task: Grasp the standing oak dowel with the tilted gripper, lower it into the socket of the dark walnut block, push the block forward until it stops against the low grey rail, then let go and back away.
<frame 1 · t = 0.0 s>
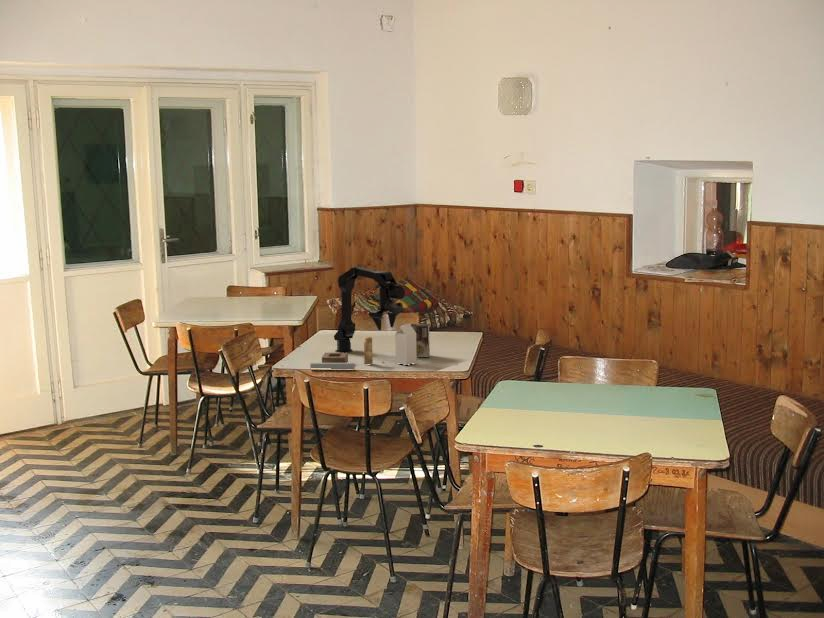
hand: (385, 328, 466), 15 cm above the table, tool pointing down, fingers open, 9 cm apart
coffee box: (420, 357, 471), on the table
milk carton: (406, 364, 456), on the table
stop rail: (332, 370, 445), on the table
socket block: (335, 360, 455), point 3 cm above the table, slide at 0.0 cm
dowel: (368, 364, 456), on the table
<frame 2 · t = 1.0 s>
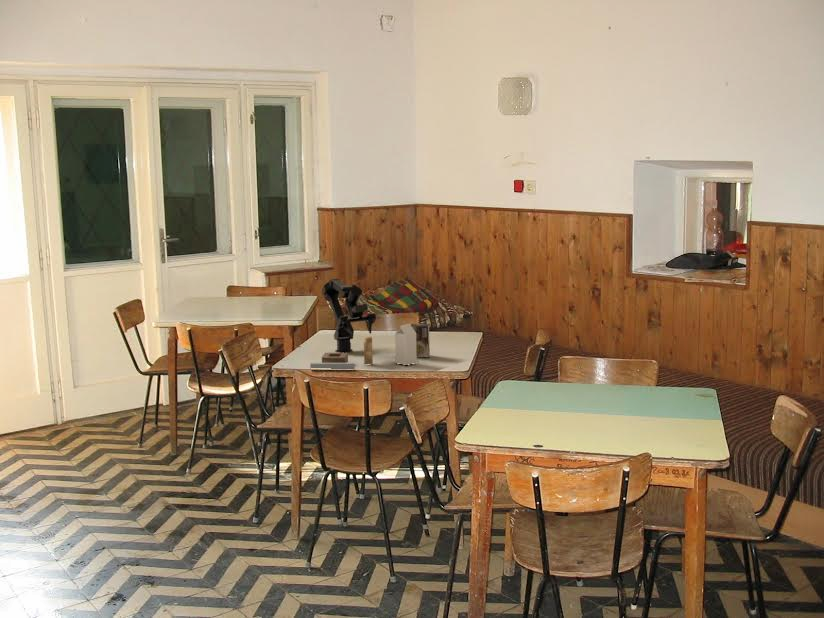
hand: (361, 334, 461), 13 cm above the table, tool tilted 45°, fingers open, 9 cm apart
nothing on the table moved.
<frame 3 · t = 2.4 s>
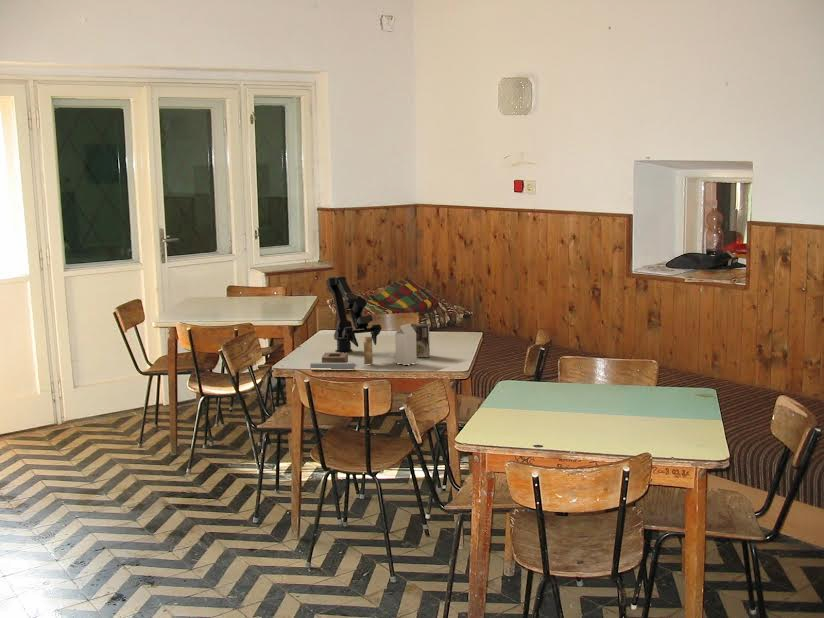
hand: (366, 345, 456), 9 cm above the table, tool tilted 45°, fingers open, 9 cm apart
nothing on the table moved.
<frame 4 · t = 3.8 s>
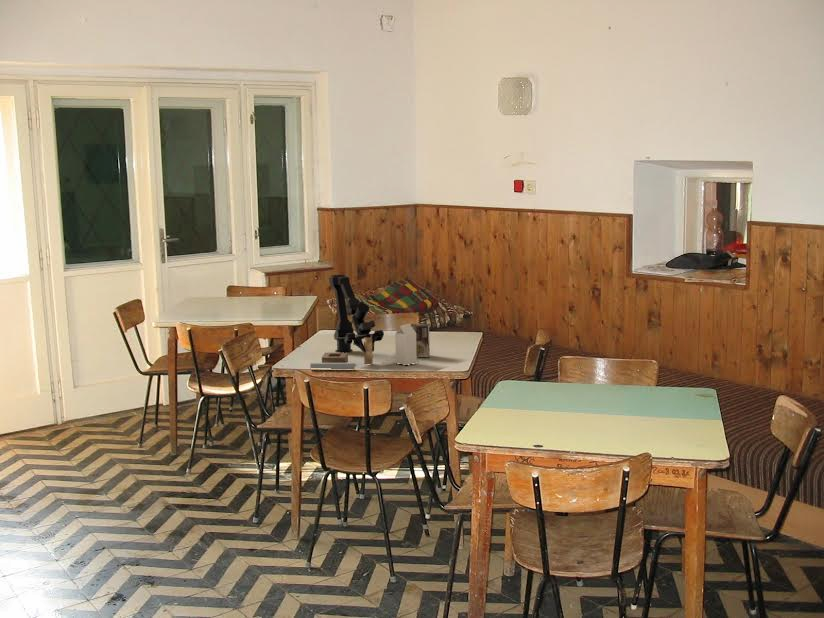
hand: (369, 351, 454), 7 cm above the table, tool tilted 45°, fingers closed on dowel, 4 cm apart
dowel: (368, 364, 456), on the table, touching gripper
everything else where it was.
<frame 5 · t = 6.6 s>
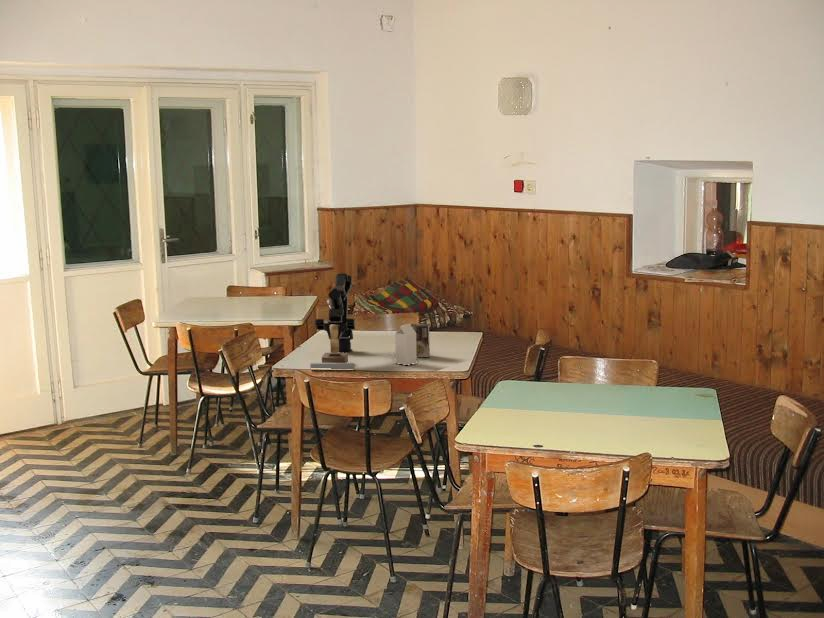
hand: (334, 338, 451), 13 cm above the table, tool tilted 45°, fingers closed on dowel, 4 cm apart
dowel: (334, 351, 454), point 7 cm above the table, touching gripper
everything else where it was.
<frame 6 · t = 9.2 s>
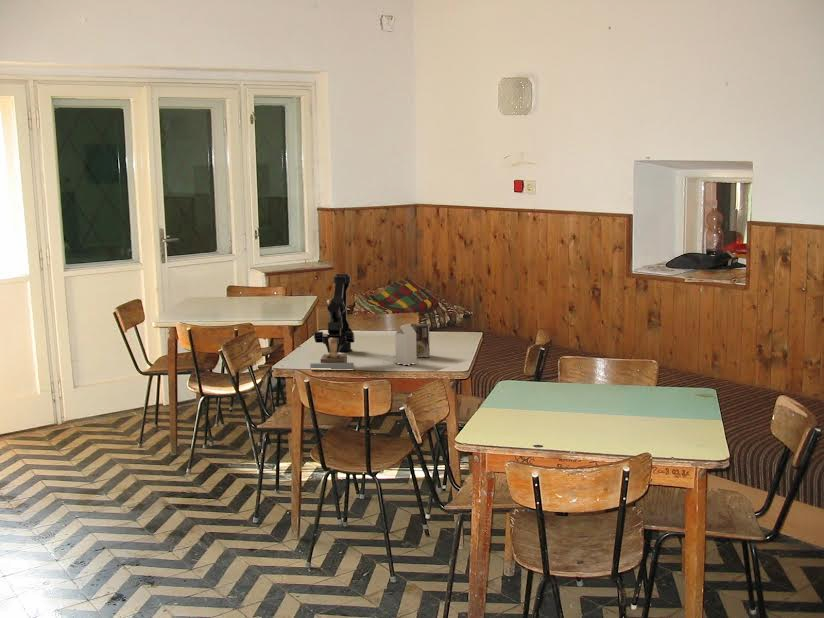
hand: (333, 352, 448), 8 cm above the table, tool tilted 45°, fingers closed on dowel, 4 cm apart
socket block: (334, 361, 451), point 3 cm above the table, slide at 3.5 cm
dowel: (333, 365, 451), point 1 cm above the table, touching gripper
everything else where it was.
when the fingers open (8 cm above the table, at t = 9.2 s): dowel stays where it is, resting on socket block.
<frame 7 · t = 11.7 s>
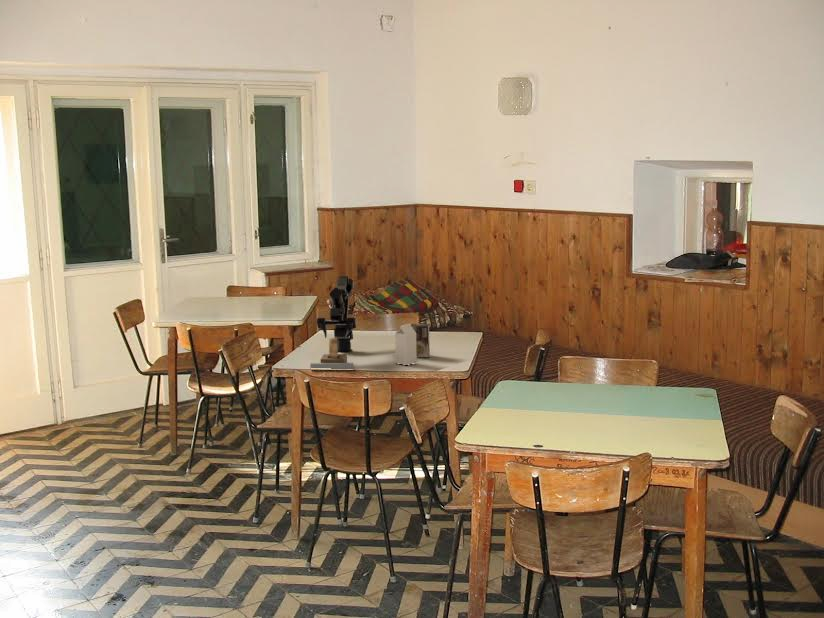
hand: (335, 337, 456), 13 cm above the table, tool tilted 45°, fingers open, 9 cm apart
socket block: (334, 361, 451), point 3 cm above the table, slide at 3.5 cm, touching dowel
dowel: (333, 365, 451), point 1 cm above the table, touching socket block
everything else where it was.
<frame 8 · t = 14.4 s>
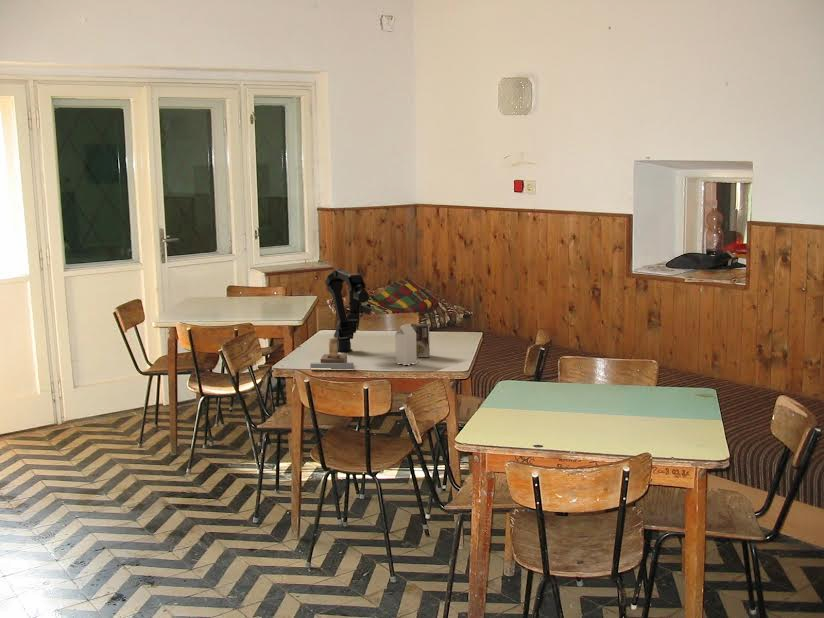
hand: (355, 331, 471), 13 cm above the table, tool pointing down, fingers open, 9 cm apart
nothing on the table moved.
at the end: socket block slide at 3.5 cm; dowel 0.7 cm from the target spot, point 1.1 cm above the table; dowel tilted 0° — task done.
